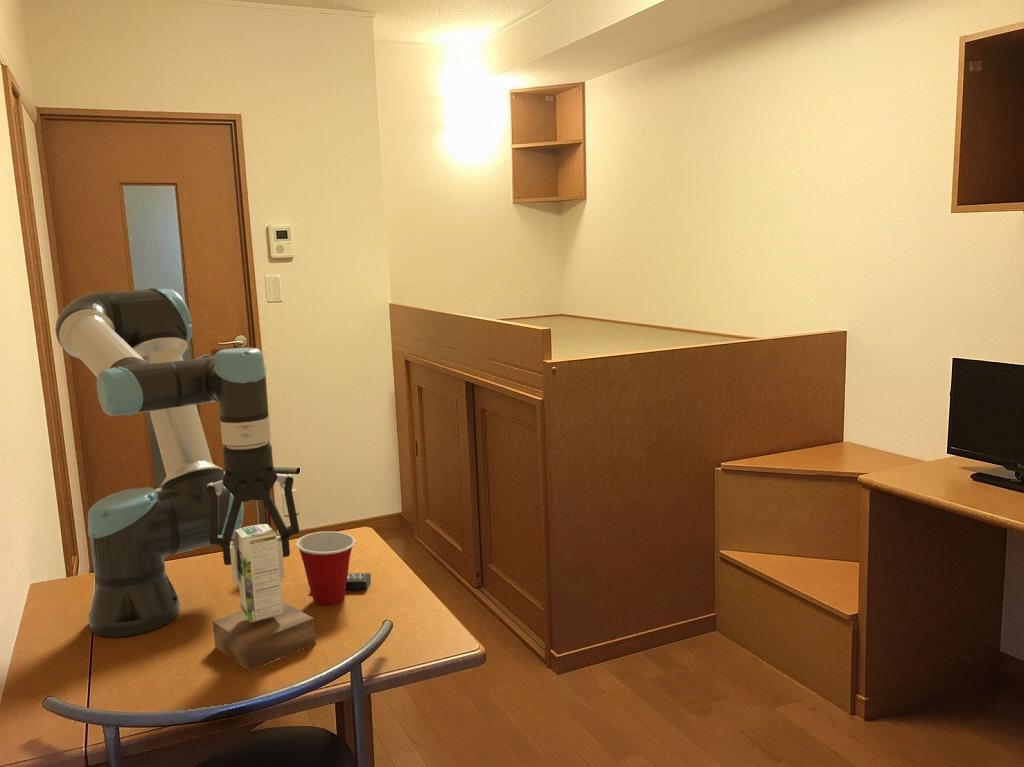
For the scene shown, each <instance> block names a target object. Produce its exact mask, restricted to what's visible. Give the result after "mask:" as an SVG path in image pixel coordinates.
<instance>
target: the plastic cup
mask: <svg viewBox="0 0 1024 767" xmlns="http://www.w3.org/2000/svg"><path fill="white" fill-rule="evenodd" d="M355 543H356V539H355V537H354V536H353V535H350V534H349V533H344V532H339V531H328V530H327V531H317V532H312V533H308V534H305V535H303V536H301V537H299V538H298V539H297V540H296V543H295V544H296V547H297V550H299V553H300V555H301V560H302V563H303V568H304V571H305V575H306V578H307V580H306V581H307V582H308V583H307V584H308V587H309V589H310V593H311V598H312V600H313V602H314V604H315V605H317V606H322V607H327V606H329V607H330V606H334V605H337V604H340V603H341V602H343V601H344V600H345V597H346V582H347V577H348V574H349V568H350V567H349V566H350V559H351V558H350V557H351V553H352V550H353V547H354V545H355Z"/></svg>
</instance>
